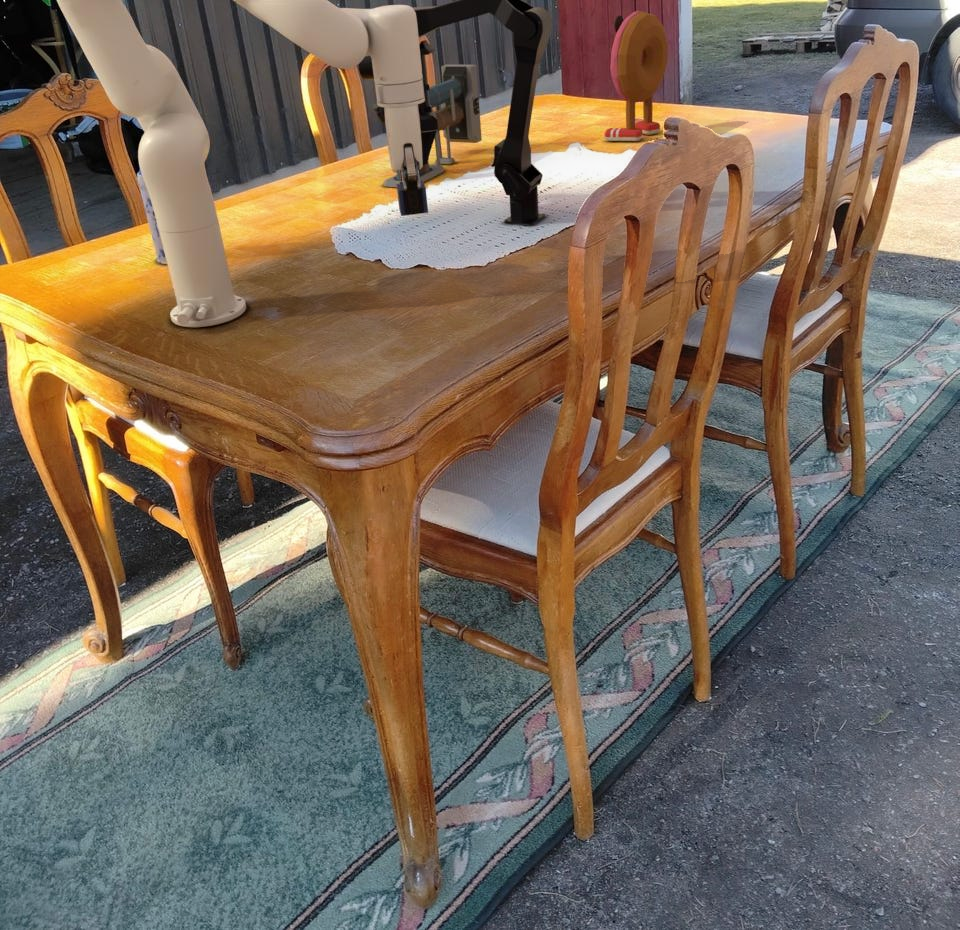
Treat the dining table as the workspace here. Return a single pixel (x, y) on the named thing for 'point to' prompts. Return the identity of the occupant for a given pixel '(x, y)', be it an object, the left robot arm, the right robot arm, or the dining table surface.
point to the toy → (637, 71)
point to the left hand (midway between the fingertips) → (413, 208)
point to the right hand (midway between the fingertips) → (421, 159)
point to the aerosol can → (151, 220)
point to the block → (400, 198)
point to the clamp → (451, 116)
